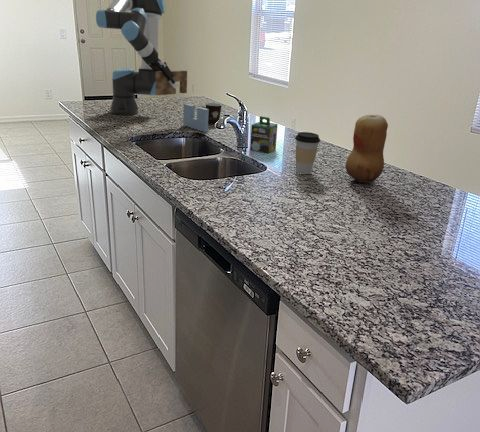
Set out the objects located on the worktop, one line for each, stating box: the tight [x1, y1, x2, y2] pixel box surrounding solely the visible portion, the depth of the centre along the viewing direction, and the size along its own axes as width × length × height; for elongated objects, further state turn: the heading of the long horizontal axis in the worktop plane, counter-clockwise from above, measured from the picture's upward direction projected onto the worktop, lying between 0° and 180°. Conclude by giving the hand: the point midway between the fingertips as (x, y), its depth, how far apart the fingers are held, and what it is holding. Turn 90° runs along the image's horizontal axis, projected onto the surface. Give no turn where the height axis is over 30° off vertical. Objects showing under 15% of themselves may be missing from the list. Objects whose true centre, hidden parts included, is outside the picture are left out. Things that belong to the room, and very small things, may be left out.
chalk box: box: [249, 116, 278, 154], centre depth 203 cm, size 9×9×15 cm
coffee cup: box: [294, 131, 321, 175], centre depth 176 cm, size 9×9×15 cm
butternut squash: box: [345, 114, 389, 183], centre depth 169 cm, size 14×13×25 cm
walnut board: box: [155, 69, 188, 96], centre depth 231 cm, size 18×2×11 cm, turn 137°
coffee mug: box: [201, 102, 223, 125], centre depth 248 cm, size 12×9×10 cm
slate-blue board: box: [182, 103, 209, 133], centre depth 233 cm, size 16×2×11 cm, turn 47°
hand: (174, 86), depth 233 cm, fingers closed on walnut board, 2 cm apart
